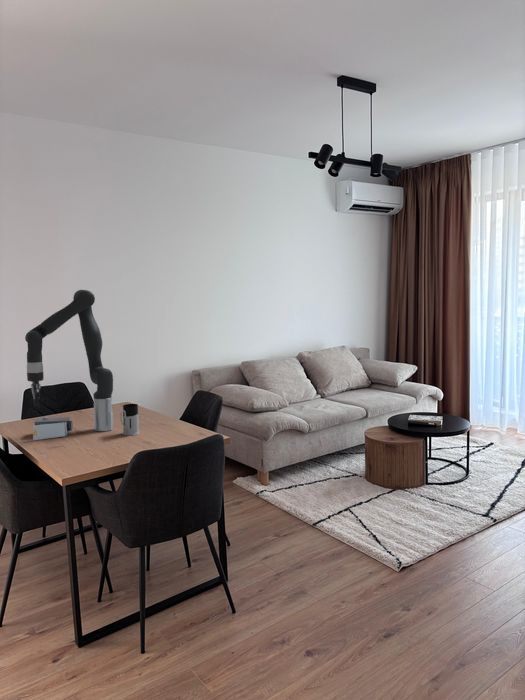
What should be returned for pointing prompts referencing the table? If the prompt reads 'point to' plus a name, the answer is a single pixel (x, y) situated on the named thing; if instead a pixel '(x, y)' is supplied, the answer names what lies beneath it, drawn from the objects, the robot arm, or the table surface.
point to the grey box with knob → (55, 420)
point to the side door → (49, 431)
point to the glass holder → (130, 419)
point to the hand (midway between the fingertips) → (36, 405)
